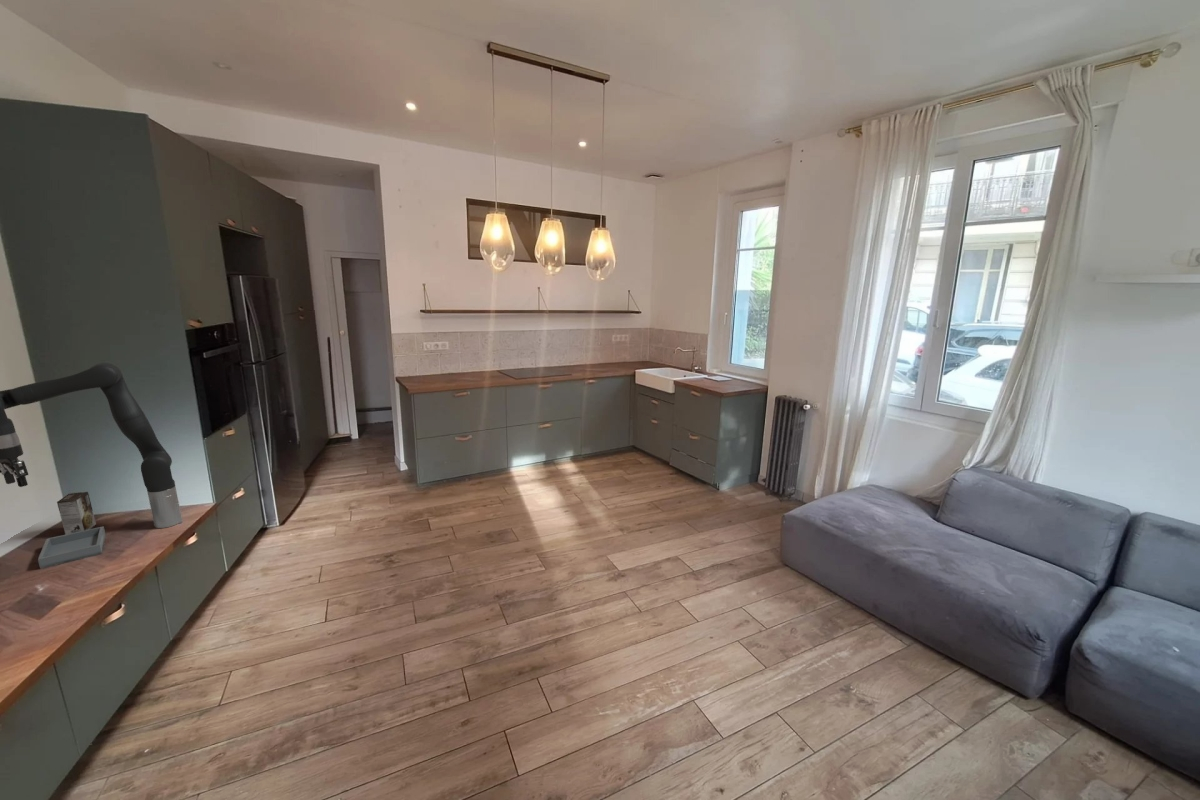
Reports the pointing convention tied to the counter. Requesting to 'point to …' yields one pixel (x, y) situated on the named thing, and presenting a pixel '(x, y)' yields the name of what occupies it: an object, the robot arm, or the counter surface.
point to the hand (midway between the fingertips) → (17, 484)
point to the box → (72, 547)
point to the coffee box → (76, 512)
